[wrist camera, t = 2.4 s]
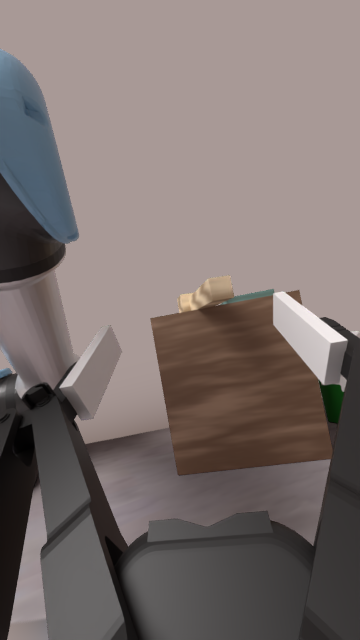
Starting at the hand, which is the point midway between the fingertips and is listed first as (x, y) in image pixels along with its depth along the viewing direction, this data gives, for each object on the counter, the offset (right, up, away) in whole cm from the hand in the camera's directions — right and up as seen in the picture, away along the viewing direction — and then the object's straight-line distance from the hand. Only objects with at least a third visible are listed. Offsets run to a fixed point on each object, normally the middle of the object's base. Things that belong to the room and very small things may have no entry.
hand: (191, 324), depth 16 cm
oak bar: (+3, +2, +21) cm, 21 cm away
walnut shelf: (+12, -25, +25) cm, 37 cm away
